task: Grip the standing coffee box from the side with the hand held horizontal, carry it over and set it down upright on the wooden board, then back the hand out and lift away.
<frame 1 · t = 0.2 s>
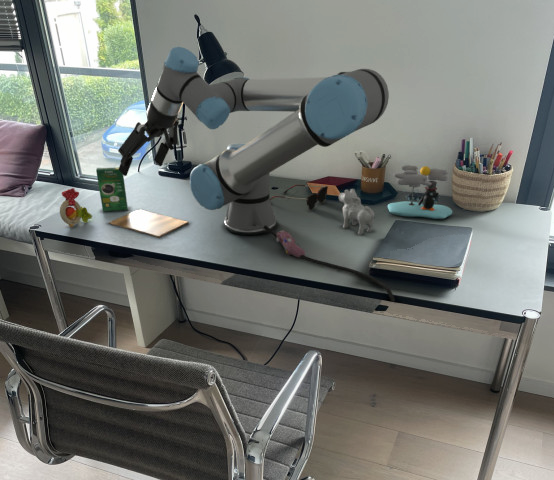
hand: (140, 167, 163), 16 cm above the table, tool tilted 35°, fingers open, 13 cm apart
coffee box: (116, 210, 180), on the table
wooden board: (148, 223, 170), on the table
pink animal figurine: (289, 253, 153), on the table
sunglasses: (296, 202, 185), on the table
dog figurine: (353, 228, 167), on the table
penguin figurine: (418, 214, 176), on the table
bird rattle: (77, 224, 170), on the table
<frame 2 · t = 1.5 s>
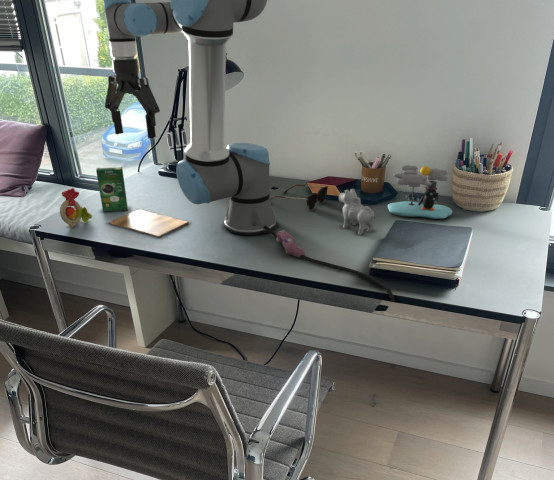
hand: (135, 135, 176), 20 cm above the table, tool pointing down, fingers open, 13 cm apart
nothing on the table moved.
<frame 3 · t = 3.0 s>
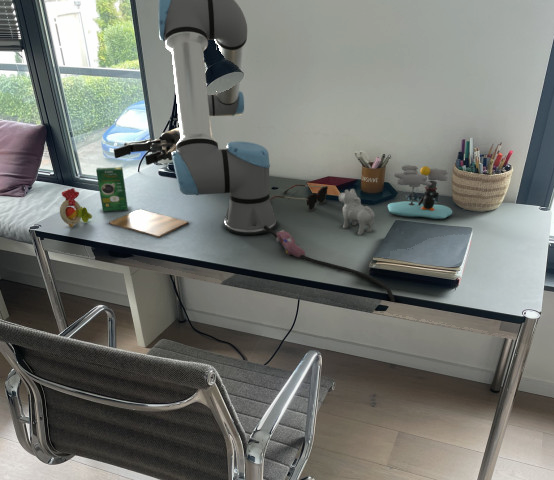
hand: (130, 157, 178), 14 cm above the table, tool horizontal, fingers open, 13 cm apart
nothing on the table moved.
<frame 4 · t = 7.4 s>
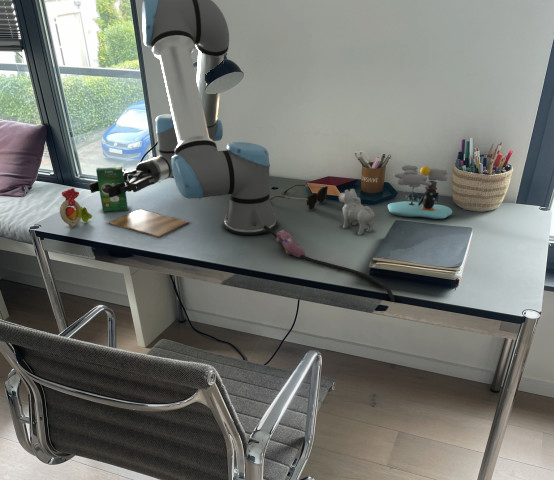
hand: (100, 190, 172), 8 cm above the table, tool horizontal, fingers closed on coffee box, 7 cm apart
coffee box: (116, 210, 180), on the table, touching gripper
everything else where it was.
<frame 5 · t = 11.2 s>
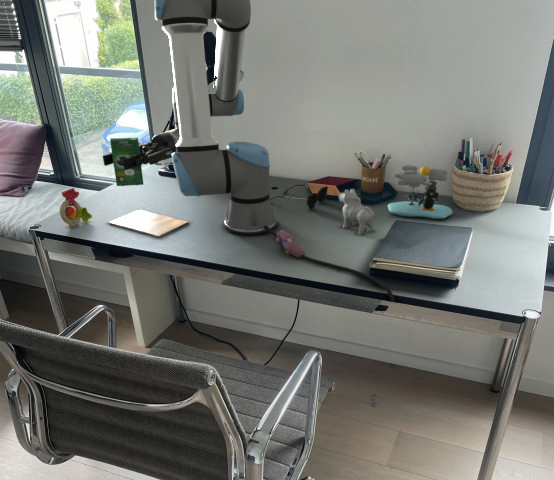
hand: (114, 162, 160), 18 cm above the table, tool horizontal, fingers closed on coffee box, 7 cm apart
coffee box: (130, 185, 167), point 10 cm above the table, touching gripper
everything else where it was.
when the fingers open (8 cm above the table, at t = 15.3 s): coffee box stays where it is, resting on wooden board.
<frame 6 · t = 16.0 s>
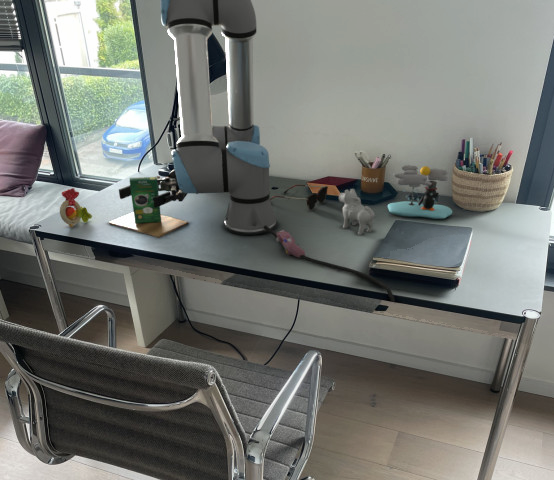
hand: (136, 198, 163), 9 cm above the table, tool horizontal, fingers open, 13 cm apart
coffee box: (148, 222, 170), resting on wooden board
everything else where it was.
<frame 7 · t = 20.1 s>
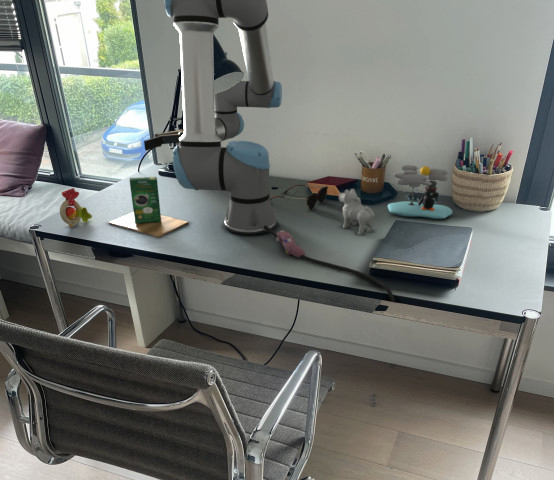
hand: (161, 149, 165), 19 cm above the table, tool horizontal, fingers open, 12 cm apart
nothing on the table moved.
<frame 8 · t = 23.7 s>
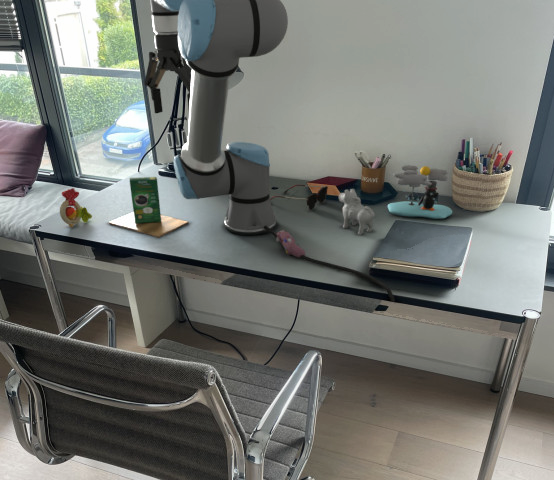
hand: (175, 115, 169), 27 cm above the table, tool pointing down, fingers open, 13 cm apart
nothing on the table moved.
at the end: coffee box inside the target area on the wooden board (0.1 cm from its centre), point 0.3 cm above the wooden board's base; coffee box tilted 0°; coffee box touching wooden board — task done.
